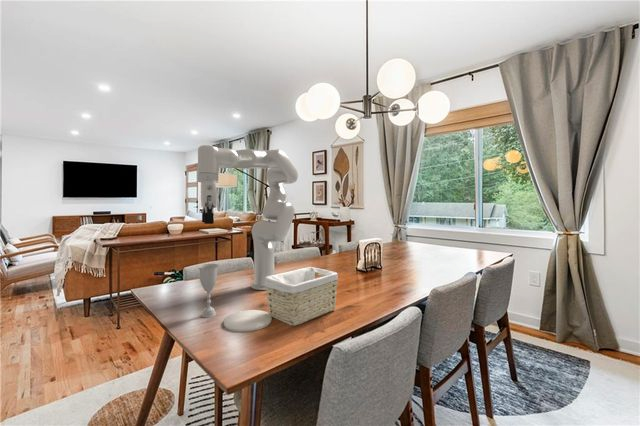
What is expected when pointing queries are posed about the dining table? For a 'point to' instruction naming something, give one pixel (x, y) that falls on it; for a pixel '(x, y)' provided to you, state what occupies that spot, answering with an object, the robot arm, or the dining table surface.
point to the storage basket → (301, 294)
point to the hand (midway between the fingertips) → (207, 223)
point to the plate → (247, 320)
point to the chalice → (208, 285)
